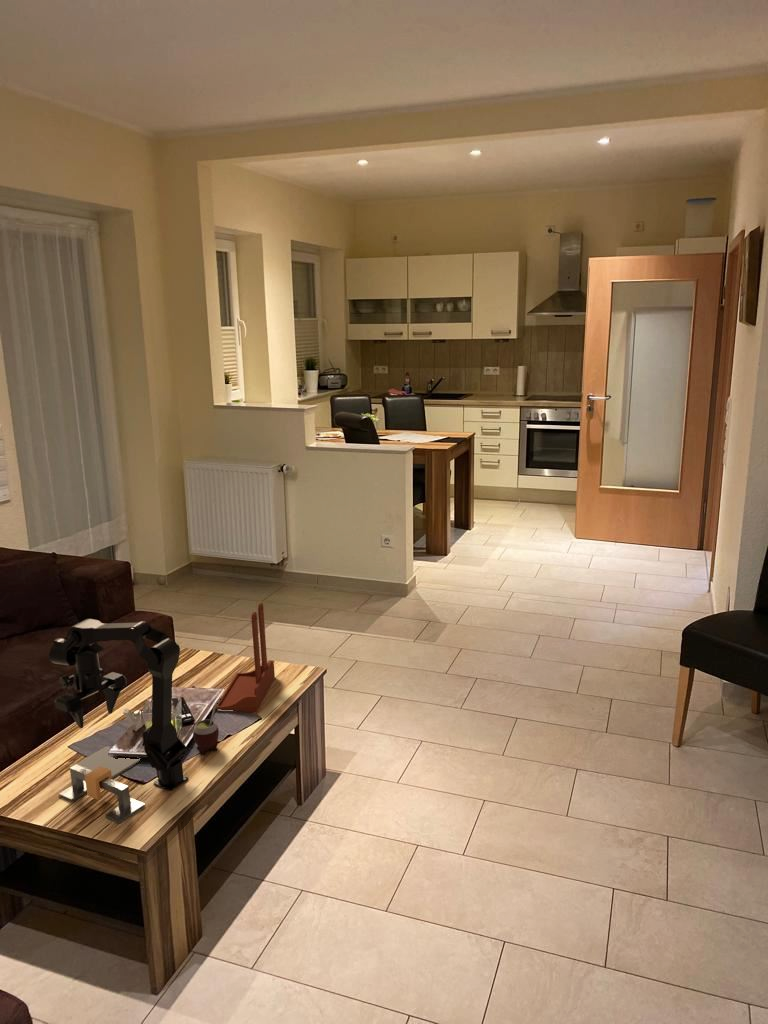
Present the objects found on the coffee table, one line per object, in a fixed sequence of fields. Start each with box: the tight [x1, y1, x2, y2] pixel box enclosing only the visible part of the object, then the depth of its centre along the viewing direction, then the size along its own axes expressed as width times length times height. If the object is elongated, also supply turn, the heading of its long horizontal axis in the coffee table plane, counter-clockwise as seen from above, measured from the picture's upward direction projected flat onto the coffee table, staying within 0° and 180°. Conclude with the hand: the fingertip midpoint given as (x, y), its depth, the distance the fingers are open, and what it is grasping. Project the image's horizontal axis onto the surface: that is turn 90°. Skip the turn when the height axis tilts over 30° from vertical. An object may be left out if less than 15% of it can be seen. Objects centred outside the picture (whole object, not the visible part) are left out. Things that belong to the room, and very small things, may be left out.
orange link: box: [85, 766, 113, 801], centre depth 195 cm, size 4×5×6 cm
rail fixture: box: [58, 763, 146, 825], centre depth 195 cm, size 23×8×7 cm, turn 58°
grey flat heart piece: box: [122, 708, 141, 726], centre depth 230 cm, size 7×2×8 cm, turn 160°
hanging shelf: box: [216, 602, 276, 713], centre depth 248 cm, size 24×13×30 cm, turn 175°
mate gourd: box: [192, 695, 223, 756], centre depth 217 cm, size 8×8×15 cm
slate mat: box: [71, 745, 141, 779], centre depth 212 cm, size 14×12×1 cm
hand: (95, 720), depth 209 cm, fingers open, 9 cm apart
